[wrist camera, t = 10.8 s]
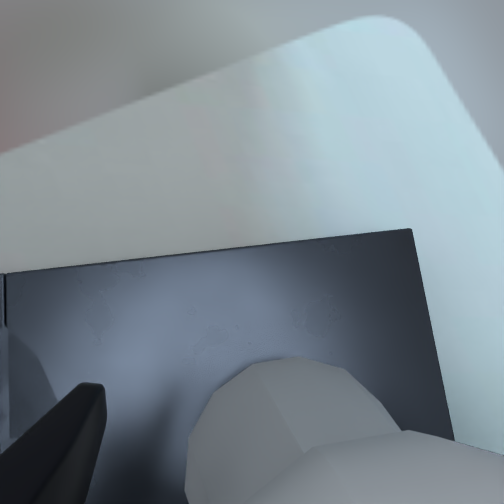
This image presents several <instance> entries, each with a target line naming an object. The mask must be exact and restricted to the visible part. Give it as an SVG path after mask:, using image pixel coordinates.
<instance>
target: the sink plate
mask: <svg viewBox="0 0 504 504" xmlns="http://www.w3.org/2000/svg"><path fill="white" fill-rule="evenodd" d="M298 356H300V357H303V358H307V359H310V360H314V361H317V362H321V363H324V364H328V365H331V366H335V367H339V368H342V369H345V370H346V371H347V372H348V373H349V374H351V375H352V376H353V377H354V378H355V379H356V380H357V381H358V382H359V383H360V384H361V385H362V386H363V387H365V388H366V389H367V390H368V391H369V392H370V393H371V394H372V395H373V396H374V397H375V398H376V399H378V400H379V401H380V402H381V404H382V405H383V406H384V408H385V409H386V410H387V412H388V413H389V414H390V416H391V417H392V419H393V420H394V421H395V423H396V424H397V425H398V427H399V428H400V430H401V431H406V430H411V431H415V432H420V433H424V434H428V435H433V436H437V437H441V438H444V439H448V440H451V441H455V440H454V435H453V430H452V425H451V420H450V415H449V410H448V405H447V400H446V395H445V390H444V385H443V380H442V376H441V371H440V366H439V361H438V356H437V351H436V346H435V341H434V336H433V331H432V326H431V321H430V316H429V311H428V306H427V301H426V297H425V292H424V287H423V282H422V277H421V272H420V267H419V262H418V257H417V252H416V247H415V242H414V237H413V232H412V229H410V228H407V229H398V230H389V231H380V232H371V233H362V234H353V235H344V236H335V237H326V238H317V239H308V240H299V241H290V242H281V243H272V244H264V245H255V246H246V247H237V248H228V249H219V250H210V251H201V252H192V253H183V254H174V255H165V256H156V257H147V258H138V259H129V260H121V261H112V262H103V263H94V264H85V265H76V266H67V267H58V268H49V269H40V270H31V271H22V272H13V273H7V274H3V273H2V274H0V455H1V454H2V453H3V452H4V451H5V450H6V449H7V448H8V447H9V446H11V445H12V444H13V443H14V442H15V441H16V440H17V439H18V438H19V437H20V436H22V435H23V434H24V433H25V432H26V431H27V430H28V429H29V428H30V427H32V426H33V425H34V424H35V423H36V422H37V421H38V420H39V419H40V418H42V417H43V416H44V415H45V414H46V413H47V412H48V411H49V410H50V409H52V408H53V407H54V406H55V405H56V404H57V403H58V402H59V401H60V400H62V399H63V398H64V397H65V396H66V395H67V394H68V393H69V392H70V391H72V390H73V389H74V388H75V387H76V386H77V385H78V384H80V383H82V382H89V383H98V384H102V385H103V386H104V388H105V393H106V405H107V422H106V427H105V431H104V435H103V438H102V442H101V446H100V450H99V453H98V457H97V461H96V465H95V468H94V472H93V476H92V480H91V483H90V487H89V491H88V495H87V498H86V501H85V504H189V502H188V499H187V496H186V494H185V491H184V490H185V477H186V465H187V452H188V440H189V436H190V434H191V432H192V431H193V429H194V427H195V425H196V423H197V422H198V420H199V418H200V416H201V414H202V412H203V411H204V409H205V407H206V405H207V403H208V402H209V400H210V398H211V396H212V394H213V393H214V392H215V391H217V390H218V389H219V388H221V387H222V386H223V385H225V384H226V383H227V382H229V381H230V380H232V379H233V378H234V377H236V376H237V375H238V374H240V373H241V372H242V371H244V370H245V369H246V368H248V367H249V366H251V365H252V364H255V363H261V362H267V361H273V360H279V359H285V358H291V357H298Z"/></svg>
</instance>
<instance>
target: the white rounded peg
mask: <svg viewBox="0 0 504 504" xmlns="http://www.w3.org/2000/svg"><path fill="white" fill-rule="evenodd" d="M184 491H185V494H186V496H187V499H188V502H189V504H504V455H500V454H497V453H493V452H490V451H486V450H483V449H479V448H476V447H472V446H469V445H465V444H462V443H458V442H455V441H451V440H448V439H444V438H441V437H437V436H433V435H428V434H424V433H420V432H415V431H411V430H406V431H401V430H400V428H399V427H398V425H397V424H396V423H395V421H394V420H393V419H392V417H391V416H390V414H389V413H388V412H387V410H386V409H385V408H384V406H383V405H382V404H381V402H380V401H379V400H378V399H376V398H375V397H374V396H373V395H372V394H371V393H370V392H369V391H368V390H367V389H366V388H365V387H363V386H362V385H361V384H360V383H359V382H358V381H357V380H356V379H355V378H354V377H353V376H352V375H351V374H349V373H348V372H347V371H346V370H345V369H342V368H339V367H335V366H331V365H328V364H324V363H321V362H317V361H314V360H310V359H307V358H303V357H300V356H298V357H291V358H285V359H279V360H273V361H267V362H261V363H255V364H252V365H251V366H249V367H248V368H246V369H245V370H244V371H242V372H241V373H240V374H238V375H237V376H236V377H234V378H233V379H232V380H230V381H229V382H227V383H226V384H225V385H223V386H222V387H221V388H219V389H218V390H217V391H215V392H214V393H213V394H212V396H211V398H210V400H209V402H208V403H207V405H206V407H205V409H204V411H203V412H202V414H201V416H200V418H199V420H198V422H197V423H196V425H195V427H194V429H193V431H192V432H191V434H190V436H189V440H188V452H187V465H186V477H185V490H184Z"/></svg>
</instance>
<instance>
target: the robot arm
mask: <svg viewBox="0 0 504 504" xmlns="http://www.w3.org/2000/svg"><path fill="white" fill-rule="evenodd" d="M106 422H107V405H106V393H105V388H104V386H103V385H102V384H98V383H89V382H82V383H80V384H78V385H77V386H76V387H75V388H74V389H73V390H72V391H70V392H69V393H68V394H67V395H66V396H65V397H64V398H63V399H62V400H60V401H59V402H58V403H57V404H56V405H55V406H54V407H53V408H52V409H50V410H49V411H48V412H47V413H46V414H45V415H44V416H43V417H42V418H40V419H39V420H38V421H37V422H36V423H35V424H34V425H33V426H32V427H30V428H29V429H28V430H27V431H26V432H25V433H24V434H23V435H22V436H20V437H19V438H18V439H17V440H16V441H15V442H14V443H13V444H12V445H11V446H9V447H8V448H7V449H6V450H5V451H4V452H3V453H2V454H1V455H0V504H85V501H86V498H87V495H88V491H89V487H90V483H91V480H92V476H93V472H94V468H95V465H96V461H97V457H98V453H99V450H100V446H101V442H102V438H103V435H104V431H105V427H106Z"/></svg>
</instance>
